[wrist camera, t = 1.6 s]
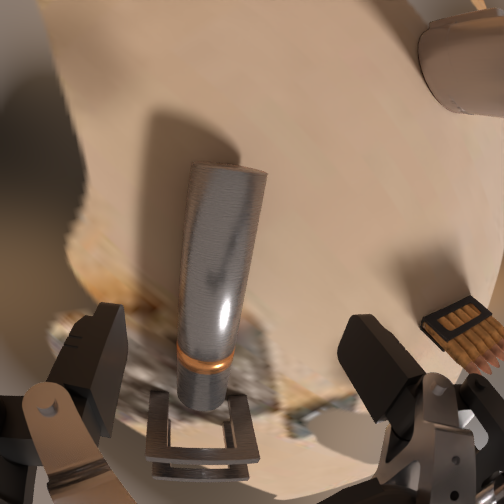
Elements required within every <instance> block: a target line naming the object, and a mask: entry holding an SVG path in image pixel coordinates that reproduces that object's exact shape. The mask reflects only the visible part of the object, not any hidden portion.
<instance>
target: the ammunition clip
mask: <svg viewBox="0 0 504 504" xmlns="http://www.w3.org/2000/svg"><path fill="white" fill-rule="evenodd" d="M420 330H422V331H423V332H424V333H425V334H426V335H427V336H428V337H429V338H430V339H431V340H432V341H433V342H434V343H435V344H436V345H437V346H438V347H439V348H440V349H441V350H442V351H443V352H444V351H446V352H447V353H448V354H449V355H450V356H451V357H452V358H453V360H454V361H455V362H456V363H458V364H459V365H461V366H462V367H463V368H464V369H465V370H466V371H467V372H468V373H469V374H471V373H477V374H480V375H481V373H480V371H479V369H478V368H477V366H478V367H479V368H480V369H481V370H482V371H484V372H485V373H487V374H490V375H491V374H492V372H491V369H490V367H489V365H488V363H487V362H489V363H490V364H491V365H493V366H495V367H497V368H499V367H500V365H499V362H498V360H497V358H499V359H501V360H502V361H504V352H503V351H504V327H503V326H502V325H501V324H500V323H499V322H498V321H497V320H496V319H495V318H493V317H492V313H491V312H490V311H489V310H488V309H486V308H485V307H484V306H483V305H482V304H481V303H479V302H478V301H477V300H476V299H475V298H473V297H472V296H471V295H470V296H468V297H466V298H464V299H462V300H460V301H458V302H456V303H454V304H452V305H450V306H448V307H446V308H443V309H441V310H439V311H437V312H434V313H432V314H430V315H428V316H425V317H423V319H422V323H421V326H420ZM495 356H496V357H497V358H496V357H495ZM486 361H487V362H486ZM474 363H475V364H476V365H477V366H476V365H475V364H474Z"/></svg>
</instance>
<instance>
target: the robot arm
mask: <svg viewBox="0 0 504 504" xmlns="http://www.w3.org/2000/svg"><path fill="white" fill-rule="evenodd" d="M429 26H430V27H429V29H428V30H427V31H426V32H424V33H423V34H422V36H421V37H420V41H419V49H418V53H419V61H420V65H421V69H422V72H423V75H424V77H425V80H426V82H427V84H428V86H429V88H430V90H431V91H432V93H433V94H434V96H435V98H436V99H437V100H438V101H439V102H440V103H441V105H443V106H444V107H445V108H446V109H448V110H450V111H451V112H455V113H463V114H470V115H474V114H475V115H484V116H492V117H500V118H504V11H503V10H502V9H500V8H490V9H484V10H478V11H473V12H468V13H464V14H459V15H455V16H451V17H447V18H443V19H440V20H436V21H432V22H430V23H429ZM127 355H128V340H127V332H126V323H125V314H124V307H123V305H121V304H113V303H104V302H100V304H99V305H98V307H97V309H96V311H95V313H94V315H93V316H87V315H85V316H84V317H83V318H81V319H80V320H79V321H77V322H76V323H75V324H74V326H73V328H72V329H71V331H70V333H69V337H67V339H66V341H65V343H64V346H63V347H62V349H61V351H60V353H59V355H58V357H57V359H56V361H55V363H54V365H53V367H52V370H51V372H50V374H49V377H48V378H47V380H46V382H42V383H38V384H36V385H34V386H32V387H31V388H30V389H28V391H27V392H26V393H25V395H24V396H2V395H0V504H32V502H33V492H34V484H35V476H36V470H37V466H44V469H45V471H46V473H47V475H48V478H49V482H48V483H47V489H48V491H49V494H50V496H51V498H52V500H53V502H54V504H137V503H136V502H135V500H134V499H133V498H132V497H131V495H130V494H129V493H128V491H127V490H126V489H125V488H124V486H123V485H122V484H121V482H120V481H119V479H118V478H117V477H116V475H115V474H114V472H113V471H112V469H111V468H110V466H109V465H108V463H107V462H106V460H105V459H104V457H103V456H102V454H101V452H100V451H99V449H98V444H99V439H100V436H102V437H108V438H111V434H112V428H113V423H114V417H115V412H116V406H117V401H118V396H119V392H120V387H121V382H122V378H123V373H124V369H125V365H126V361H127ZM337 356H338V360H339V362H340V364H341V366H342V367H343V369H344V371H345V372H346V374H347V376H348V377H349V379H350V381H351V383H352V384H353V386H354V388H355V389H356V391H357V393H358V394H359V396H360V398H361V400H362V401H363V403H364V405H365V406H366V408H367V410H368V412H369V413H370V415H371V417H372V419H373V420H374V422H375V423H376V424H377V423H380V422H383V421H386V420H388V421H389V422H390V423H389V425H388V426H387V427H386V430H385V436H384V441H383V446H382V451H381V456H380V461H379V465H378V468H377V471H376V472H375V474H374V475H373V477H372V478H371V479H370V480H368V481H365V482H362V483H360V484H357V485H354V486H351V487H348V488H345V489H342V490H341V491H339V492H338V493H336V494H334V495H332V496H330V497H329V498H327V499H325V500H323V501H321V502H319V503H317V504H504V399H503V398H502V397H501V396H500V394H499V393H498V392H497V391H496V390H495V388H494V387H493V386H492V385H491V384H490V382H489V381H488V380H487V379H486V378H485V377H483V376H482V375H480V374H477V373H471V374H469V375H468V377H467V378H466V379H465V381H464V382H463V384H452V382H451V381H450V380H449V379H448V378H447V377H445V376H444V375H441V374H439V373H434V372H431V373H427V374H426V372H425V371H424V370H423V369H422V368H421V366H420V365H419V364H418V363H417V362H416V360H415V359H414V358H413V357H412V356H411V355H410V353H409V352H408V351H407V350H405V348H404V346H403V345H402V344H401V343H399V341H398V340H397V338H396V337H395V336H394V335H393V334H392V333H391V332H389V331H388V330H387V329H385V328H384V327H383V326H382V325H381V324H380V323H379V321H378V320H377V319H376V318H375V317H374V316H373V315H371V314H359V315H352V316H351V317H350V319H349V321H348V324H347V326H346V329H345V331H344V334H343V336H342V338H341V341H340V343H339V346H338V350H337ZM474 416H476V417H477V419H478V420H479V422H480V423H481V424H482V426H483V427H484V429H485V430H486V432H487V433H488V436H489V439H488V443H487V444H486V445H485V447H484V448H482V449H481V450H478V449H477V448H476V446H475V445H474V436H473V432H472V431H471V430H469V429H464V427H465V426H466V424H467V423H468V422H469V421H470V420H471V419H472V418H473V417H474ZM499 471H502V472H500V473H499Z"/></svg>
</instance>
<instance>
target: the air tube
mask: <svg viewBox="0 0 504 504" xmlns="http://www.w3.org/2000/svg"><path fill="white" fill-rule="evenodd" d="M267 174H268V173H266V172H264V171H261V170H257V169H253V168H248V167H243V166H237V165H231V164H224V163H215V162H200V161H197V162H192V165H191V172H190V180H189V188H188V196H187V204H186V213H185V223H184V233H183V244H182V256H181V269H180V285H179V304H178V330H177V394H178V397H179V399H180V401H181V402H182V403H183V404H184V405H185V406H187V407H189V408H191V409H193V410H197V411H210V410H213V409H216V408H218V407H219V406H220V405H221V404H222V403H223V402H224V400H225V396H226V391H227V385H228V380H229V375H230V370H231V364H232V361H233V356H234V351H235V343H236V338H237V333H238V328H239V322H240V317H241V312H242V306H243V301H244V296H245V291H246V285H247V280H248V275H249V270H250V264H251V259H252V254H253V248H254V243H255V238H256V233H257V227H258V222H259V217H260V212H261V206H262V201H263V196H264V190H265V185H266V180H267Z"/></svg>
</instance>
